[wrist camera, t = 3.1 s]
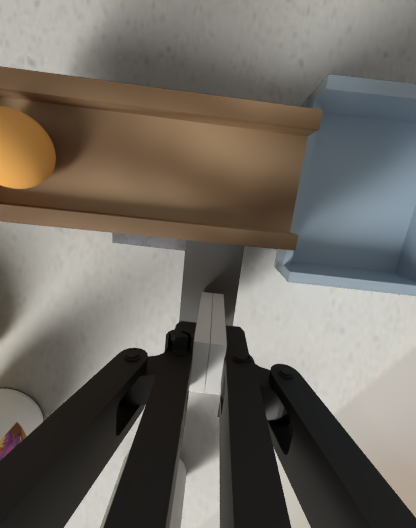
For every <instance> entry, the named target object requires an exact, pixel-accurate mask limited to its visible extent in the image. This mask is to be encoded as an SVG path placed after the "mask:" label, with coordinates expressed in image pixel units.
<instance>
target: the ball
mask: <svg viewBox="0 0 416 528" xmlns="http://www.w3.org/2000/svg"><path fill="white" fill-rule="evenodd" d="M55 164H56V153H55V148H54V145H53V143H52V140H51V138H50V137H49V135H48V134H47V132H46V131H45V130H44V129H43V127H42V126H41V125H40V124H39V123H38V122H36V121H35V120H34V119H33V118H31V117H30V116H28V115H26V114H24V113H23V112H21V111H18V110H16V109H13V108H9V107H4V106H0V185H1V186H5V187H9V188H15V189H26V188H32V187H35V186H38V185H40V184H42V183H43V182H45V181H46V180H47V179H48V178H49V177H50V175H51V174H52V172H53V170H54V168H55Z"/></svg>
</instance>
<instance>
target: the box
mask: <svg viewBox="0 0 416 528" xmlns="http://www.w3.org/2000/svg"><path fill="white" fill-rule="evenodd" d="M303 107H305V108H313V109H320V110H323V114H322V119H321V124H320V129H319V130H318V131H316V132H315V133H313V134H311V135H309V136H308V139H307V144H306V150H305V155H304V160H303V166H302V171H301V176H300V181H299V187H298V192H297V197H296V203H295V208H294V213H293V219H292V224H291V229H290V232H291V233H294V234H297V235H298V240H297V245H296V250H295V251H293V250H283V249H277V255H276V260H275V266H274V267H275V268H276V269H277V270H278V271H279V272H280V274H281V275H282V276H283V277H284V278H285V279H286V280H287V281H288V282H293V283H302V284H312V285H321V286H330V287H339V288H348V289H357V290H366V291H375V292H384V293H393V294H402V295H411V296H416V84H415V83H405V82H396V81H387V80H377V79H368V78H359V77H349V76H340V75H331V74H329V75H328V76H327V77H326V78H325V79H324V80H323V81H322V83H321V84H320V85H319V86H318V87H317V88H316V89H315V90H314V92H313V93H312V94H311V95H310V96H309V97H308V98H307V99H306V101H305V102H304V104H303Z"/></svg>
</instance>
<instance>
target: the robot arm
mask: <svg viewBox="0 0 416 528" xmlns="http://www.w3.org/2000/svg"><path fill="white" fill-rule="evenodd" d="M212 296H213V297H212ZM204 388H205V392H204ZM220 391H221V396H220V403H219V410H218V417H220V528H291V525H290V520H289V515H288V511H287V506H286V502H285V498H284V493H283V489H282V484H281V480H280V475H279V471H278V466H277V462H276V457H275V453H274V449H275V451H276V453H277V456H278V458H279V460H280V462H281V464H282V466H283V468H284V471H285V473H286V475H287V477H288V479H289V481H290V483H291V486H292V488H293V490H294V492H295V494H296V496H297V499H298V500H299V503H300V505H301V507H302V509H303V511H304V513H305V516H306V518H307V520H308V522H309V524H310V526H311V528H416V518H415V516H414V515H413V514H412V513H411V511H410V510H409V509H408V508H407V506H406V505H405V504H404V503H403V502H402V500H401V499H400V498H399V496H398V495H397V494H396V493H395V491H394V490H393V489H392V488H391V487H390V485H389V484H388V483H387V482H386V480H385V479H384V478H383V477H382V475H381V474H380V473H379V472H378V471H377V469H376V468H375V467H374V465H373V464H372V463H371V462H370V460H369V459H368V458H367V457H366V455H365V454H364V453H363V452H362V450H361V449H360V448H359V447H358V446H357V444H356V443H355V442H354V441H353V439H352V438H351V437H350V436H349V434H348V433H347V432H346V431H345V429H344V428H343V427H342V426H341V424H340V423H339V422H338V421H337V419H336V418H335V417H334V416H333V414H332V413H331V412H330V411H329V409H328V408H327V407H326V406H325V405H324V403H323V402H322V401H321V400H320V398H319V397H318V396H317V395H316V393H315V392H314V391H313V390H312V388H311V387H310V386H309V385H308V383H307V382H306V381H305V380H304V378H303V377H302V376H301V375H300V373H299V372H298V371H296V370H295V369H294V368H292V367H290V366H288V365H284V364H276V365H273V366H272V367H271V370H268V369H265V368H262V367H259V366H258V365H256V364H255V363H254V360H253V358H252V357H251V356H250V355H249V352H248V348H247V343H246V338H245V333H244V331H243V330H242V329H241V328H240V327H236V326H227V325H225V309H224V294H216V293H208V292H202V296H201V301H200V307H199V313H198V319H197V323H196V322H187V321H180V322H179V323H178V324H177V325H176V328H175V330H171V331H169V332H168V333H167V334H166V343H165V352H164V353H163V354H160V355H157V356H149V357H148V355H147V353H146V351H145V350H142V349H139V348H129V349H126V350H123V351H122V352H120V353H119V354H118V355H117V356H116V357H114V358H113V359H112V360H111V361H110V362H109V363H108V364H107V365H106V366H104V367H103V368H102V369H101V370H100V371H99V372H98V373H97V374H96V375H94V376H93V377H92V378H91V379H90V380H89V381H88V382H87V383H86V384H85V385H83V386H82V387H81V388H80V389H79V390H78V391H77V392H76V393H75V394H73V395H72V396H71V397H70V398H69V399H68V400H67V401H66V402H65V403H63V404H62V405H61V406H60V407H59V408H58V409H57V410H56V411H55V412H53V413H52V414H51V415H50V416H49V417H48V418H47V419H46V420H45V421H43V422H42V423H41V424H40V425H39V426H38V427H37V428H36V429H35V430H33V431H32V432H31V433H30V434H29V435H28V436H27V437H26V438H25V439H24V440H22V441H21V442H20V443H19V444H18V445H17V446H16V447H15V448H14V449H12V450H11V451H10V452H9V453H8V454H7V455H6V456H5V457H4V458H2V459H1V460H0V528H64V526H65V525H66V523H67V522H68V520H69V519H70V517H71V516H72V514H73V513H74V512H75V510H76V509H77V507H78V506H79V504H80V503H81V501H82V500H83V498H84V497H85V495H86V494H87V492H88V491H89V489H90V488H91V486H92V485H93V483H94V482H95V480H96V479H97V477H98V476H99V474H100V473H101V472H102V470H103V469H104V467H105V466H106V464H107V463H108V461H109V460H110V458H111V457H112V455H113V454H114V452H115V451H116V449H117V448H118V446H119V445H120V443H121V442H122V440H123V439H124V437H125V436H126V435H127V433H128V432H129V430H130V429H131V427H132V426H133V424H134V423H135V421H136V420H137V418H138V417H139V415H140V414H141V412H142V411H143V409H144V407H145V409H144V412H143V415H142V418H141V421H140V424H139V426H138V429H137V432H136V435H135V438H134V441H133V444H132V447H131V449H130V452H129V455H128V458H127V461H126V464H125V467H124V470H123V472H122V475H121V478H120V481H119V484H118V487H117V490H116V492H115V495H114V498H113V501H112V504H111V507H110V510H109V513H108V515H107V518H106V521H105V524H104V527H103V528H169V527H170V521H171V514H172V507H173V500H174V493H175V486H176V479H177V472H178V465H179V458H180V451H181V444H182V437H183V430H184V423H185V416H186V409H187V403H188V394H189V392H197V393H206V394H215V395H220ZM145 405H146V406H145ZM273 447H274V448H273Z"/></svg>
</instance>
